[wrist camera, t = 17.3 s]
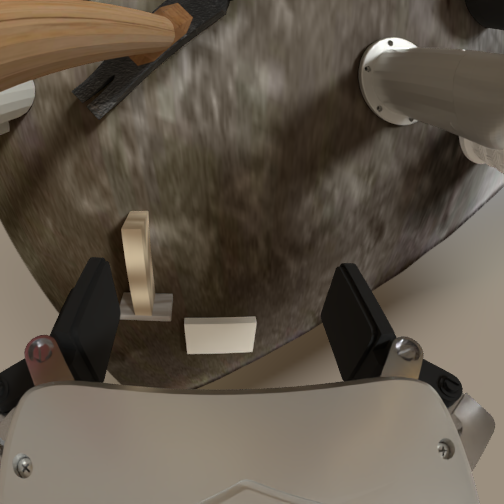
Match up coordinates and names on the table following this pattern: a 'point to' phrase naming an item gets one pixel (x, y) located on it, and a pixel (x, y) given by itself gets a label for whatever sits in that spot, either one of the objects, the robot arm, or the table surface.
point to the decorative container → (482, 154)
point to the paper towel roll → (15, 103)
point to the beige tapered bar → (141, 274)
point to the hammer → (96, 42)
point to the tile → (219, 334)
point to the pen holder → (487, 12)
